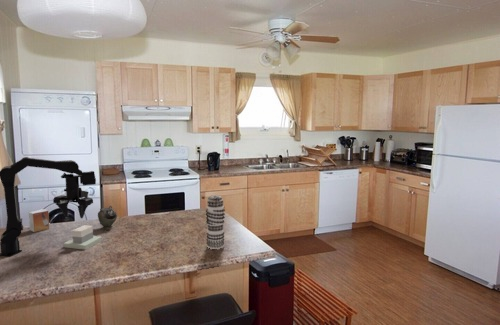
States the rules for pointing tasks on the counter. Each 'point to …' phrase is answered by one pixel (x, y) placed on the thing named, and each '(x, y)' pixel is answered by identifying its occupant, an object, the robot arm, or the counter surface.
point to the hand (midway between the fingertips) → (74, 217)
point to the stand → (83, 245)
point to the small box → (39, 220)
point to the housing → (82, 234)
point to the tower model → (215, 222)
